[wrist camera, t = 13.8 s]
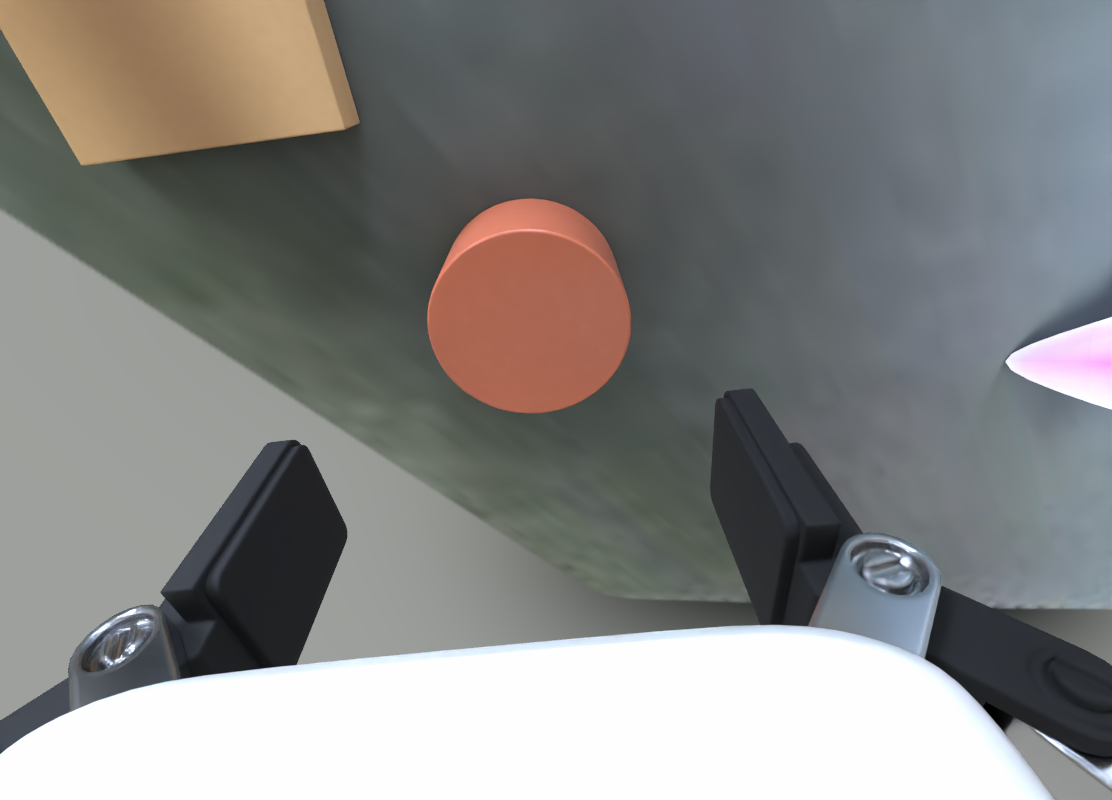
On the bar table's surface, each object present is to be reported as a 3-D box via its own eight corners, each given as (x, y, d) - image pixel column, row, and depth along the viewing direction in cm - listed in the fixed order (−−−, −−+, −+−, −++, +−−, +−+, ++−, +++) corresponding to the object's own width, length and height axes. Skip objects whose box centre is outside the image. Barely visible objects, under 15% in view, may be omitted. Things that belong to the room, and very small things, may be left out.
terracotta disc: (613, 186, 17) (627, 215, 14) (621, 352, 21) (634, 404, 18) (425, 210, 18) (401, 244, 15) (465, 370, 21) (453, 423, 18)
